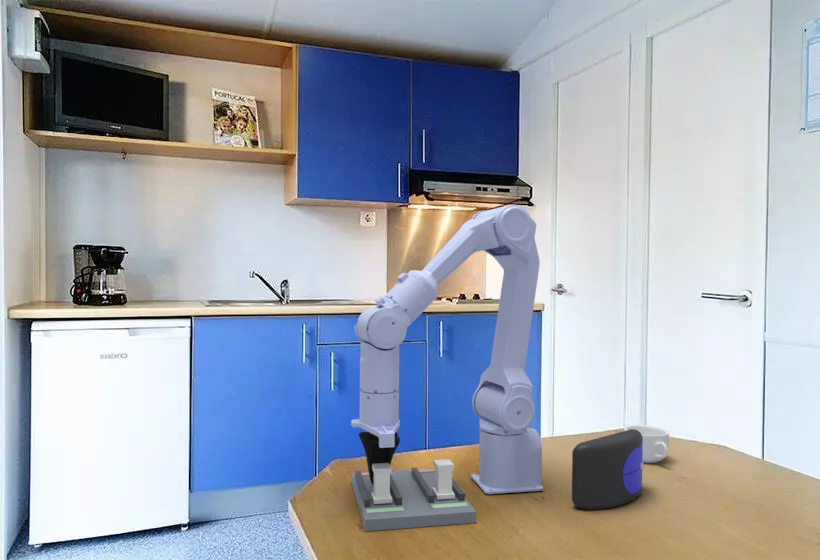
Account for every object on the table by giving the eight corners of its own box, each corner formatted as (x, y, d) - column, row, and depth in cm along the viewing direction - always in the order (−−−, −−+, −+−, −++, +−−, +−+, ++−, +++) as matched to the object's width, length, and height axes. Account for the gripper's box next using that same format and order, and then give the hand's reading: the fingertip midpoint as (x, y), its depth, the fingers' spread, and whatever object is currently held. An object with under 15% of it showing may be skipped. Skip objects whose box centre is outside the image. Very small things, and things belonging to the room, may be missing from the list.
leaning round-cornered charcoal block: (596, 519, 80) (597, 450, 80) (568, 508, 83) (569, 442, 83) (658, 493, 89) (659, 432, 89) (631, 484, 93) (632, 426, 93)
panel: (442, 477, 95) (442, 462, 95) (476, 522, 78) (476, 504, 78) (351, 482, 92) (351, 467, 92) (365, 531, 75) (365, 512, 75)
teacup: (615, 454, 109) (615, 425, 109) (651, 452, 111) (651, 424, 111) (646, 471, 100) (647, 440, 100) (686, 469, 101) (686, 438, 101)
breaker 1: (388, 494, 83) (389, 462, 83) (392, 502, 80) (392, 468, 80) (370, 495, 82) (371, 463, 82) (373, 504, 79) (374, 469, 79)
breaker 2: (449, 490, 85) (449, 458, 85) (454, 498, 82) (455, 465, 82) (432, 491, 84) (432, 459, 84) (437, 499, 81) (437, 466, 81)
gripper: (346, 381, 90) (346, 468, 90) (357, 401, 76) (356, 504, 76) (391, 380, 92) (390, 465, 92) (410, 399, 78) (409, 500, 78)
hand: (378, 483), depth 84 cm, fingers closed
